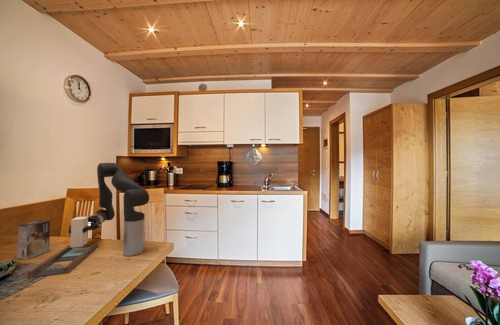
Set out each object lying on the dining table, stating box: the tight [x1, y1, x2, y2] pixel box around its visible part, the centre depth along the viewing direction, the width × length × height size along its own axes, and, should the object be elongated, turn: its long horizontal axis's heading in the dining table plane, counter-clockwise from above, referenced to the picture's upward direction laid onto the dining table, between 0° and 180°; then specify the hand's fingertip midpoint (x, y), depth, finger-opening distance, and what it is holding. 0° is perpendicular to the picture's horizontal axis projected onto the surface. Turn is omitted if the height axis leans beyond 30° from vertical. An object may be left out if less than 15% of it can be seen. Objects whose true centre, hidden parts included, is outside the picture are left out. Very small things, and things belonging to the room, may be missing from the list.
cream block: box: [69, 216, 89, 248], centre depth 100 cm, size 5×5×14 cm
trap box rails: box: [26, 242, 99, 279], centre depth 91 cm, size 13×27×2 cm, turn 17°
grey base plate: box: [33, 256, 78, 278], centre depth 86 cm, size 10×17×1 cm, turn 17°
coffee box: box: [16, 219, 51, 260], centre depth 96 cm, size 9×6×16 cm
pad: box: [62, 246, 90, 257], centre depth 99 cm, size 10×10×1 cm
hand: (76, 231), depth 97 cm, fingers closed on cream block, 5 cm apart
